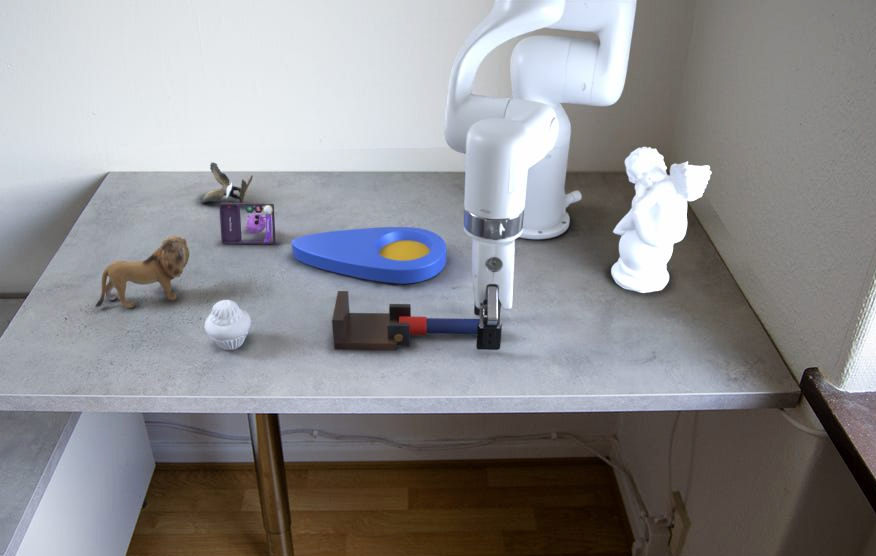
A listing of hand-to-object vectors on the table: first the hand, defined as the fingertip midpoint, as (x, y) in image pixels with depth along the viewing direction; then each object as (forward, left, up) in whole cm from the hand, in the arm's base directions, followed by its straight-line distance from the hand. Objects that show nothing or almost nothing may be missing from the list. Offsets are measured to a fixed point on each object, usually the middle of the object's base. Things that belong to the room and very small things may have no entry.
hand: (486, 330), depth 107 cm
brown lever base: (+13, -10, -1) cm, 16 cm away
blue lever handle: (+4, -3, -1) cm, 5 cm away
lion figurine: (+35, -37, -1) cm, 51 cm away
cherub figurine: (-30, +4, -1) cm, 31 cm away
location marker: (+3, -26, -1) cm, 26 cm away
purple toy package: (+15, -44, -1) cm, 47 cm away
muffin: (+30, -19, -1) cm, 35 cm away
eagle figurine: (+13, -59, -1) cm, 61 cm away
